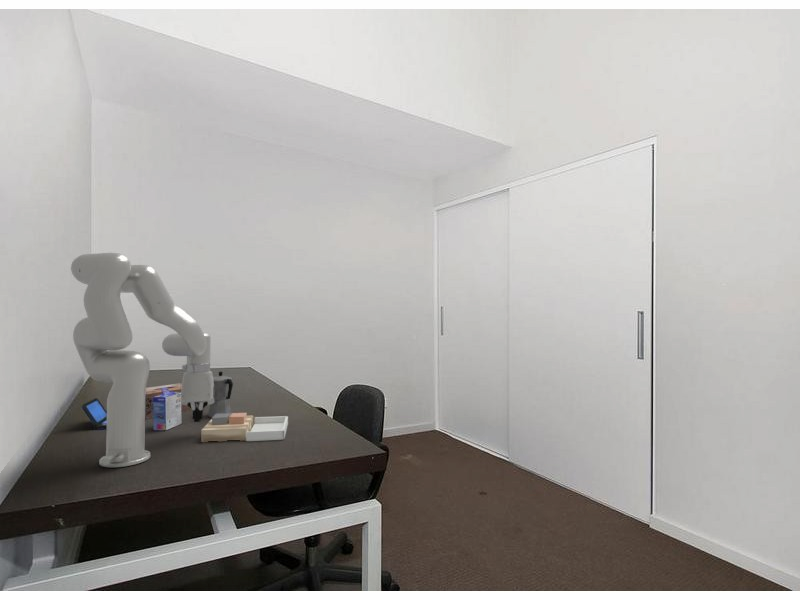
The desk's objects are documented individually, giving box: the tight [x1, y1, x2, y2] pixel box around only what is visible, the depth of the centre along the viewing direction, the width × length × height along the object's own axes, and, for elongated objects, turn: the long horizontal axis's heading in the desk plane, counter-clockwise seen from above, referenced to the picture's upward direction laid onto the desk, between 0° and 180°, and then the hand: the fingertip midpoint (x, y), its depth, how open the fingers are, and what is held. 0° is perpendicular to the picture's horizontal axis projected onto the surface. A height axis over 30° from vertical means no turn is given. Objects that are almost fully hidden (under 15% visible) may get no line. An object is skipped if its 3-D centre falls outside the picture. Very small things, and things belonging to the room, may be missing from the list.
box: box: [245, 415, 289, 442], centre depth 160 cm, size 21×12×3 cm, turn 11°
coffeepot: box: [208, 371, 234, 419], centre depth 184 cm, size 15×9×18 cm, turn 51°
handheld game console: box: [81, 397, 107, 430], centre depth 169 cm, size 16×13×9 cm
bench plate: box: [200, 415, 254, 443], centre depth 157 cm, size 18×14×4 cm
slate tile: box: [211, 412, 232, 425], centre depth 157 cm, size 6×5×2 cm
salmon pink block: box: [229, 412, 248, 424], centre depth 158 cm, size 6×5×2 cm
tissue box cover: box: [145, 382, 200, 419], centre depth 191 cm, size 26×14×10 cm, turn 145°
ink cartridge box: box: [152, 387, 182, 431], centre depth 166 cm, size 10×6×14 cm, turn 174°
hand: (197, 421), depth 156 cm, fingers closed
